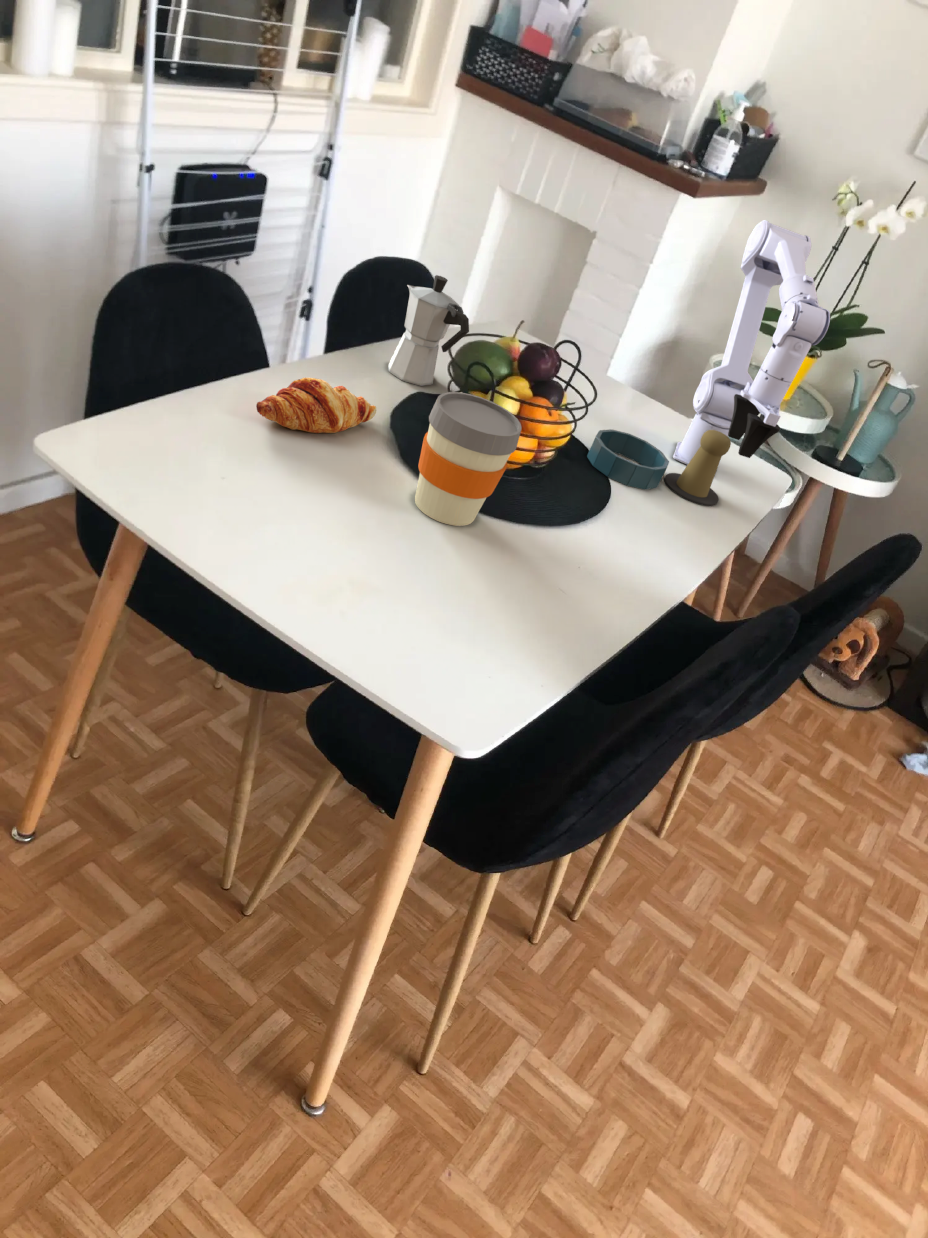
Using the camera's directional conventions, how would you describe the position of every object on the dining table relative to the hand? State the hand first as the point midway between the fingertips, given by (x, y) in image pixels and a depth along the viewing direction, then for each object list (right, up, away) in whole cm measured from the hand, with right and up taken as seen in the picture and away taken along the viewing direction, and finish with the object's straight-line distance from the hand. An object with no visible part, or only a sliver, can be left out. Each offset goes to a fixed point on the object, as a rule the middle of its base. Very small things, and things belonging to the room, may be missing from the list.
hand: (738, 446), depth 174 cm
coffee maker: (-56, +13, +5) cm, 58 cm away
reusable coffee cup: (-50, -14, -32) cm, 61 cm away
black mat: (-7, -7, +5) cm, 11 cm away
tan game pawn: (-7, -7, +5) cm, 11 cm away
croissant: (-70, -1, -23) cm, 74 cm away
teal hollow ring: (-20, -3, +3) cm, 20 cm away
